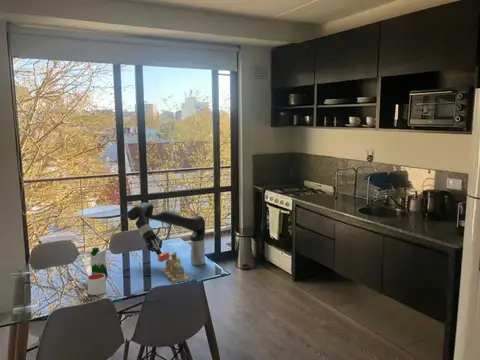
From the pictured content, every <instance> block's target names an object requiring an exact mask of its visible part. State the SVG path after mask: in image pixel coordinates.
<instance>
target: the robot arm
mask: <svg viewBox="0 0 480 360" xmlns="http://www.w3.org/2000/svg"><path fill="white" fill-rule="evenodd" d="M153 213H154V205H153V203H150V202H145V201H144V202H141V204H140V205H139V204H137V205H135V206H134V207H132V208H131V209H129V210H128V211H127V213H126V216H127V218H128V219H129V220H130V221H135V220H136V221H135V225H136V228H137V229H138V232H139V233H140V236H141V237H142V239H143V241H144V242H145V244H146V245H145V246H144V248H145V249H147V250H148V251H150V252H155V254H156V255H157V256H158V255H160V254H162V253H163V252H162V251H161V249H162V246H163V240H162V239H161V240H159V238H158V237H157V236H156V233H155V232H154V230H153V228H152V227H151V226H150V224H149V223H148V221H147V219H148V220H154V221H158V222H162V223H165V224H169V225H173V226H177V227H180V228H184V229H186V230H189V231H192V233H191V235H190V262H191V265H192V266H202V265H204V264H206V258H205V257H206V256H205V255H206V253H205V251H206V250H205V235H206V221H205V218H203V216H201V215H195V216H194V217H185V216H182V215H181V214H180V213H179V212H176V211H174V210H170V209H168V210H167V209H166V210H164V211H161V212H159V213H156V214H153Z"/></svg>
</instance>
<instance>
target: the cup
mask: <svg viewBox="0 0 480 360" xmlns="http://www.w3.org/2000/svg"><path fill="white" fill-rule="evenodd" d="M86 279H87V280H86V282H87V290H88V291H87V292H88V294H89V295H90V296H93V295H96V296H101V295H103V294H105V293H106V291H107V281H106V280H107V279H106V277H105V275H104V274H100V273H99V274H93V275H92V274H90V275H88V276H87V277H86ZM100 294H101V295H100Z"/></svg>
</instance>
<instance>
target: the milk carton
mask: <svg viewBox="0 0 480 360" xmlns="http://www.w3.org/2000/svg"><path fill="white" fill-rule="evenodd" d="M88 253H89V256H90V266H91V275H93V274H99V273H100V274H104V275H105V278H107V277H108V275H109V274H108V270H107V258H106V257H107V256H106V255H107V249H106V248H99V247H93V248H91V250H90V251H88Z"/></svg>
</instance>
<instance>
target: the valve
mask: <svg viewBox="0 0 480 360" xmlns="http://www.w3.org/2000/svg"><path fill="white" fill-rule="evenodd" d="M161 272H162V273H163V274H164V275H165V276H166V277H167V278H168V279H169V280H170V281H171V282H172V284H177V283H176V282H179V283H182V282H181V281H184V282H188V281H190V277H189V276H188V274H186V273H185V269H184V266H183V265H182V264H181V258H179V257H178V256H177V255H176V256H170V257H169V259H167V260H165V267H164V268H161ZM187 280H188V281H187Z"/></svg>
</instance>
